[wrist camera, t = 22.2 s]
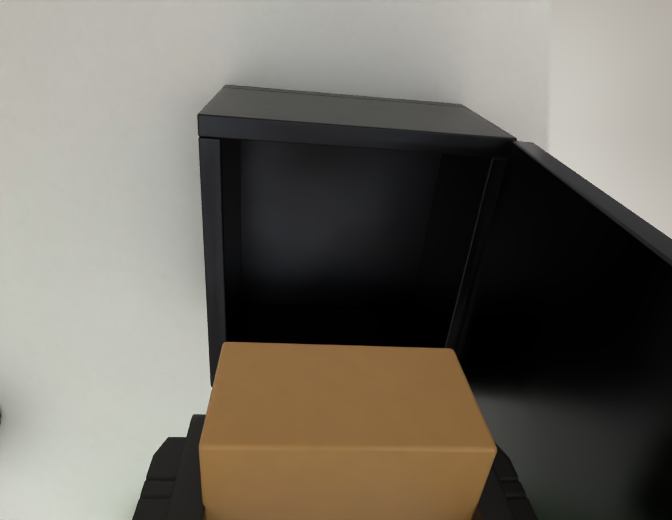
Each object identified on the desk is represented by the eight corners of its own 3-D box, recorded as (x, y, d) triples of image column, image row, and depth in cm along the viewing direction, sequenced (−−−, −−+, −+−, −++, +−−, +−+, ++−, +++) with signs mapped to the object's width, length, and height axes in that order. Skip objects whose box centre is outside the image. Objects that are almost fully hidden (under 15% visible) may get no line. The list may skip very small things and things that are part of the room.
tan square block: (222, 339, 11) (197, 447, 8) (453, 347, 11) (500, 449, 9) (227, 493, 13) (209, 613, 11) (415, 493, 14) (442, 607, 11)
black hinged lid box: (229, 306, 28) (210, 387, 22) (224, 84, 22) (196, 113, 16) (418, 313, 29) (449, 392, 23) (462, 104, 23) (518, 138, 17)
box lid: (538, 755, 12) (736, 765, 12) (825, 379, 6) (1203, 408, 6) (443, 398, 23) (548, 406, 23) (512, 140, 17) (652, 153, 17)
